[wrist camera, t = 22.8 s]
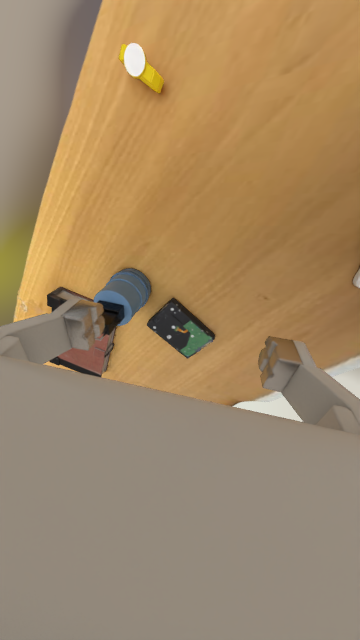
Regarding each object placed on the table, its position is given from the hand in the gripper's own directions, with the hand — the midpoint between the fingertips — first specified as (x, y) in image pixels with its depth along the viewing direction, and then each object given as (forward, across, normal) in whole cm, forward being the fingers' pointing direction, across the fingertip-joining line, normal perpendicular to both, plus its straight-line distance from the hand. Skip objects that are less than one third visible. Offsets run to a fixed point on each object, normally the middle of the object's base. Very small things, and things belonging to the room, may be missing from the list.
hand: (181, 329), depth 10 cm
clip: (+24, +16, +17) cm, 34 cm away
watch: (+36, +13, -17) cm, 42 cm away
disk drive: (+35, +3, +26) cm, 44 cm away
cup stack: (+35, +16, +17) cm, 43 cm away
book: (+36, +31, +36) cm, 60 cm away
